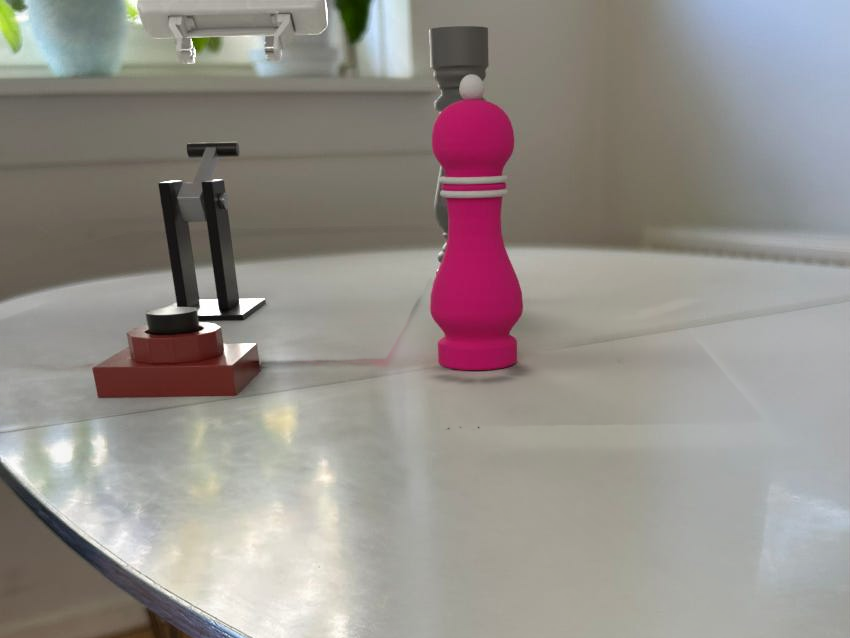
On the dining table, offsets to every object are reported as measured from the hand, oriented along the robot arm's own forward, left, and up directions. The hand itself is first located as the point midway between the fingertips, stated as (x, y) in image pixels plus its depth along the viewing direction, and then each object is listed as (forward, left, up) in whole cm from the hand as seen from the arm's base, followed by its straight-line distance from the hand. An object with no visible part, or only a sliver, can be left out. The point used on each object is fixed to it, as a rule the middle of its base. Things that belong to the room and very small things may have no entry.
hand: (228, 57), depth 106 cm
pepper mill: (+27, -42, -24) cm, 55 cm away
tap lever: (0, -16, -12) cm, 20 cm away
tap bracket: (0, -21, -24) cm, 32 cm away
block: (+5, -48, -24) cm, 54 cm away
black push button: (+5, -48, -20) cm, 52 cm away
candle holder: (+25, -12, -24) cm, 37 cm away
